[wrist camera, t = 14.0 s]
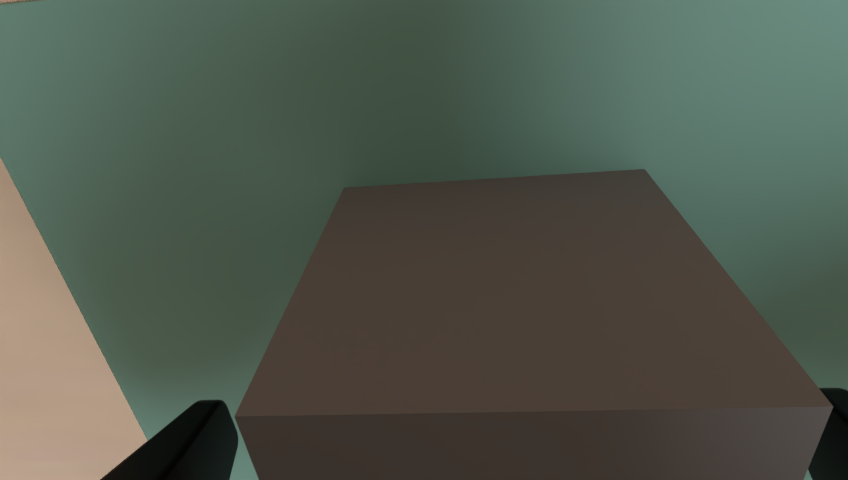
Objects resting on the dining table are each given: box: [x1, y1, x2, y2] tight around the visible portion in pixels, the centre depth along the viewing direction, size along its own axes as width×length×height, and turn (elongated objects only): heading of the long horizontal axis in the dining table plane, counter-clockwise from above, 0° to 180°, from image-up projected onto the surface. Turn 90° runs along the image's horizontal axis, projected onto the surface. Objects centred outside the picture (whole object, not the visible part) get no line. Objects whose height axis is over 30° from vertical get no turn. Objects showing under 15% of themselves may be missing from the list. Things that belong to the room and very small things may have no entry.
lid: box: [0, 0, 848, 480], centre depth 11 cm, size 13×16×1 cm
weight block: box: [234, 169, 833, 480], centre depth 8 cm, size 6×5×5 cm
